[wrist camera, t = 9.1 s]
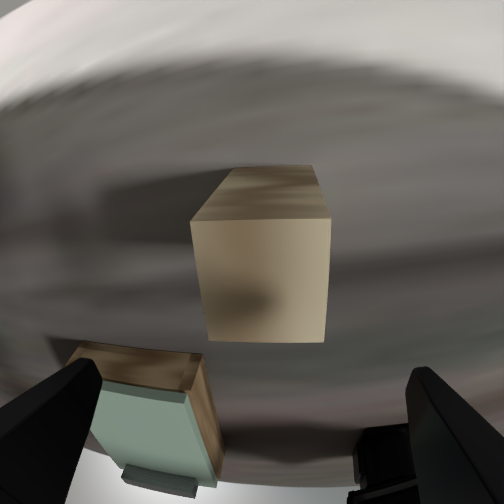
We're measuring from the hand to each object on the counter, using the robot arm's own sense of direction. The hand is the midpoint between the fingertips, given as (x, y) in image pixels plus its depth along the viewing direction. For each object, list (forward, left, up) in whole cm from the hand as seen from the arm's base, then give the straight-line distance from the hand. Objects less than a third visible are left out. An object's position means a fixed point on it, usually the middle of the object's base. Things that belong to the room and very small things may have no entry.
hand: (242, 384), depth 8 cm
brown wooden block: (0, -1, -13) cm, 13 cm away
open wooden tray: (+12, +19, -13) cm, 26 cm away
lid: (+12, +19, -9) cm, 24 cm away
